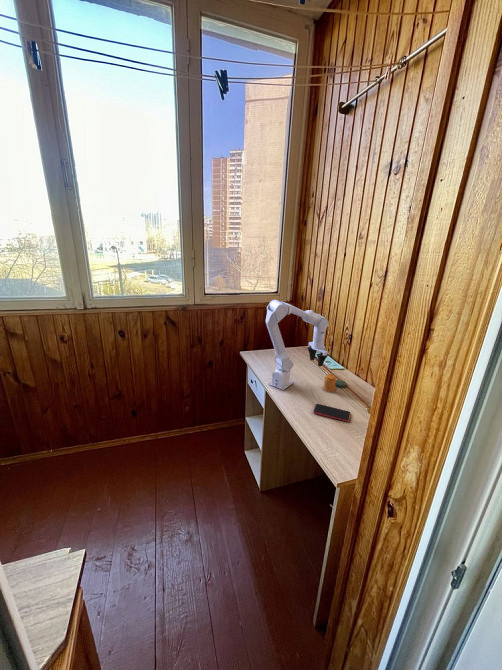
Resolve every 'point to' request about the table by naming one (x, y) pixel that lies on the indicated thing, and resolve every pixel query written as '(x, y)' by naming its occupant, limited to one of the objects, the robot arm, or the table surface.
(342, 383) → the honey lid
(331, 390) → the honey jar
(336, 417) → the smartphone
